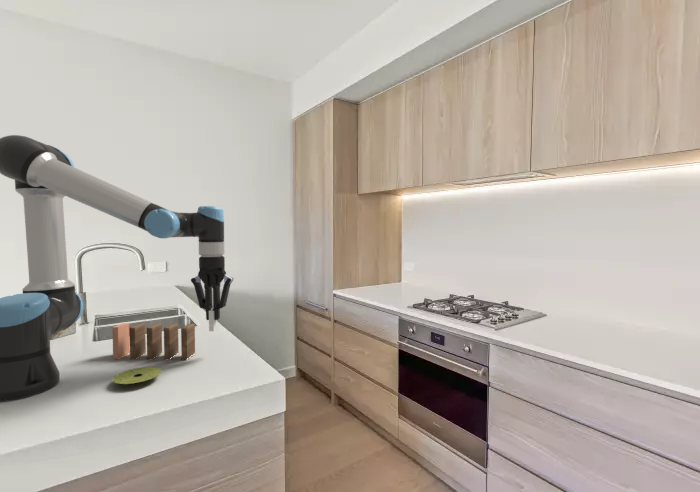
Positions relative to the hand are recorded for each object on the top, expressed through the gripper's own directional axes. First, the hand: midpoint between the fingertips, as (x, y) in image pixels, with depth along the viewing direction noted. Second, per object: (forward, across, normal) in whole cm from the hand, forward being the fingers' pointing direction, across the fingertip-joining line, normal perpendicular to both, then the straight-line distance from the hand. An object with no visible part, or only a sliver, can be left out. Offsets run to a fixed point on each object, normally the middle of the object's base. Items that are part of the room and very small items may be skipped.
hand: (213, 330), depth 114 cm
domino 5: (+9, +8, 0) cm, 12 cm away
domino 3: (+9, +19, 0) cm, 21 cm away
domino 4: (+9, +14, 0) cm, 16 cm away
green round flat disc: (+9, +12, +19) cm, 24 cm away
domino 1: (+9, +30, 0) cm, 31 cm away
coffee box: (+9, +70, -21) cm, 73 cm away
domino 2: (+9, +25, 0) cm, 26 cm away
